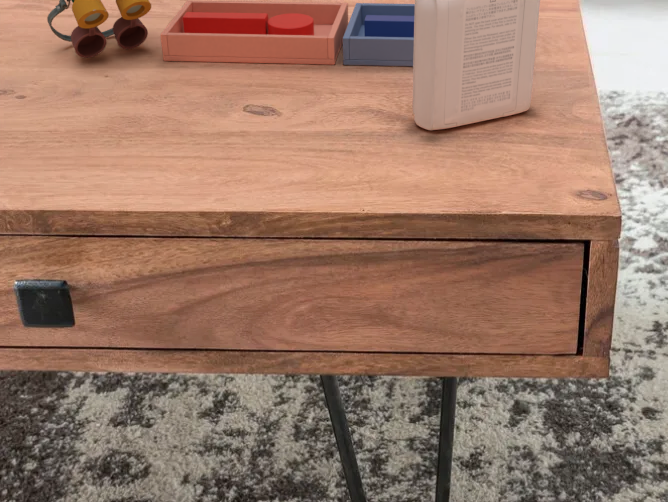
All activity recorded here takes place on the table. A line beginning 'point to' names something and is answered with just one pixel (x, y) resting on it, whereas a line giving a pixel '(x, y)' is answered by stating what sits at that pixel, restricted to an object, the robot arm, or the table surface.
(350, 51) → the blue tray
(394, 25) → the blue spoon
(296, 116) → the table surface
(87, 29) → the binoculars
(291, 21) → the red spoon
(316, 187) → the table surface
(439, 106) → the white plastic bottle
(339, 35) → the coral tray
